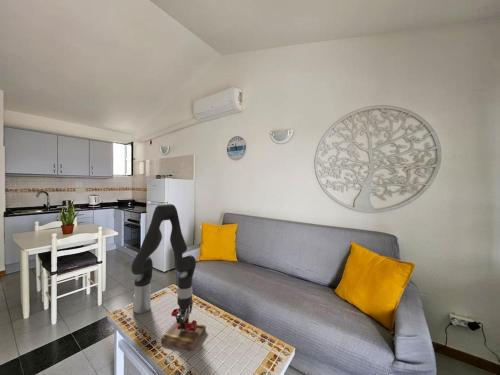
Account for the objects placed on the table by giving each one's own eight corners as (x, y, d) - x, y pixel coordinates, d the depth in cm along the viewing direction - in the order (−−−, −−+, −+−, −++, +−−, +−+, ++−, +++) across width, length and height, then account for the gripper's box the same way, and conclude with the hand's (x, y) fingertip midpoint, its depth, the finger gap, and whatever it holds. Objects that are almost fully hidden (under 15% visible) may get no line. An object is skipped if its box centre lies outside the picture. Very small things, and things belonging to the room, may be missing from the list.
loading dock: (161, 343, 105) (161, 335, 105) (177, 324, 119) (177, 317, 119) (192, 351, 101) (192, 343, 101) (205, 331, 115) (205, 324, 115)
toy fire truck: (195, 332, 107) (195, 314, 107) (170, 329, 109) (171, 311, 109) (197, 328, 111) (198, 310, 110) (174, 325, 113) (174, 307, 112)
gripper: (185, 286, 117) (185, 316, 118) (170, 300, 103) (170, 333, 104) (197, 288, 115) (197, 318, 116) (184, 302, 102) (183, 336, 102)
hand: (184, 325), depth 110 cm, fingers closed on toy fire truck, 3 cm apart
